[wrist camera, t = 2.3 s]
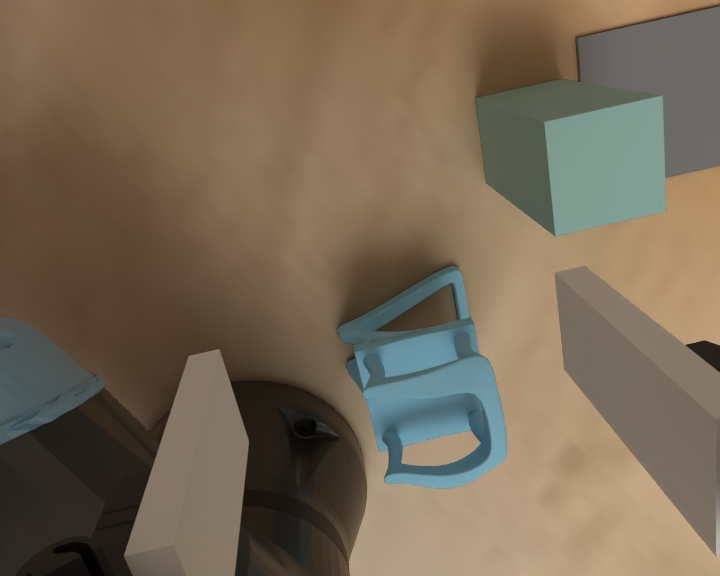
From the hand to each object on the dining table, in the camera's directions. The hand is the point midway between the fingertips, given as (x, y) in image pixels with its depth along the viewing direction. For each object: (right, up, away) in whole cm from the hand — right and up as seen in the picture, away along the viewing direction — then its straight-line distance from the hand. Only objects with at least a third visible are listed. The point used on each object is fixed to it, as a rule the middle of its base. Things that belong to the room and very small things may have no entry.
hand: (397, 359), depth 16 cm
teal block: (+9, +11, +22) cm, 26 cm away
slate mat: (+18, +13, +22) cm, 31 cm away
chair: (+2, -1, +26) cm, 26 cm away
